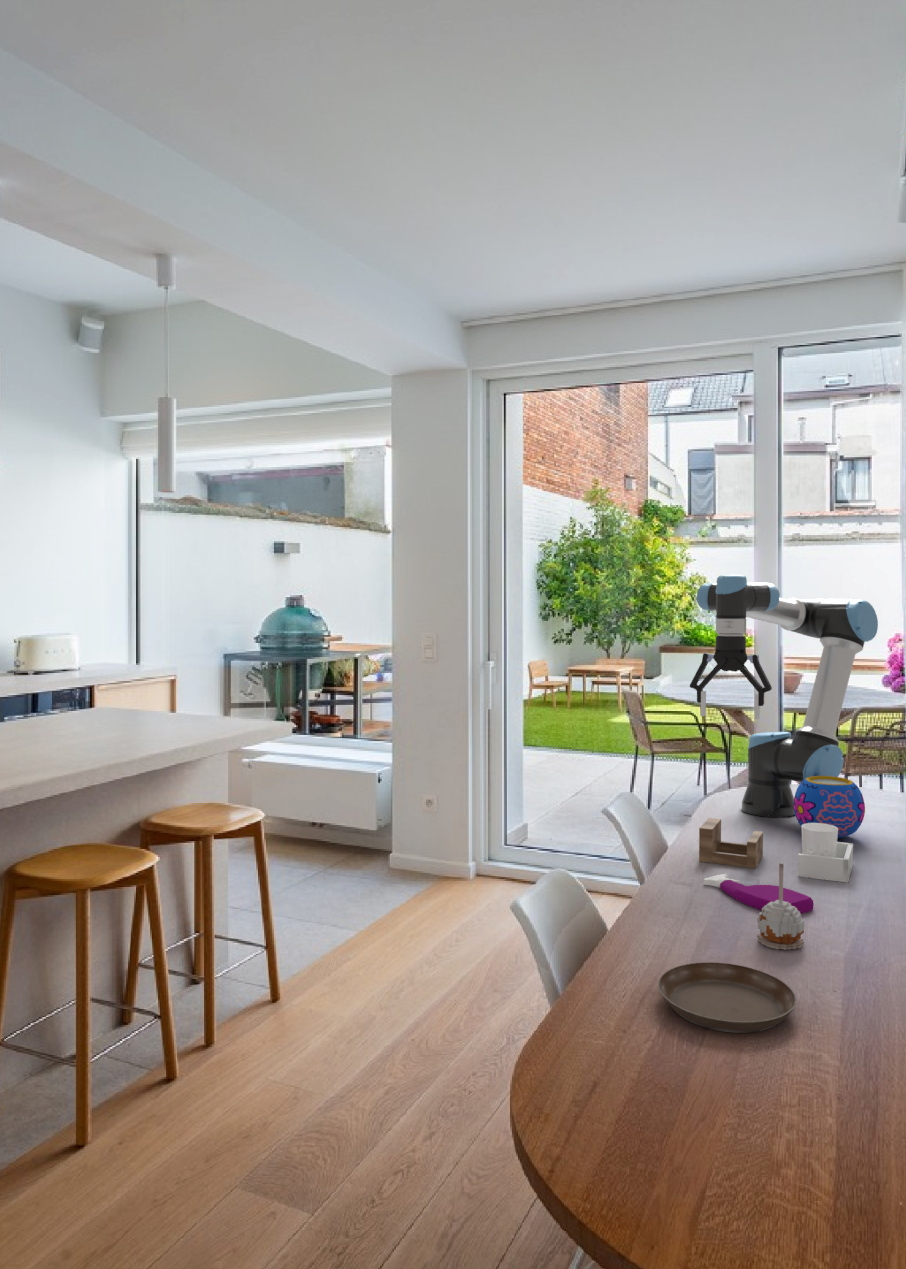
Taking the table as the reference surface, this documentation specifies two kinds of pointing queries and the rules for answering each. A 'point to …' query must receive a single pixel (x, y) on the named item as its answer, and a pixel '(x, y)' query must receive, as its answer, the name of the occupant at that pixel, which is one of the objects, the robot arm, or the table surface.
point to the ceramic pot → (830, 803)
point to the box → (828, 864)
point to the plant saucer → (727, 996)
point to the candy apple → (780, 923)
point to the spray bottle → (759, 893)
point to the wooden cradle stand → (728, 847)
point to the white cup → (819, 839)
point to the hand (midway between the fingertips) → (729, 717)
